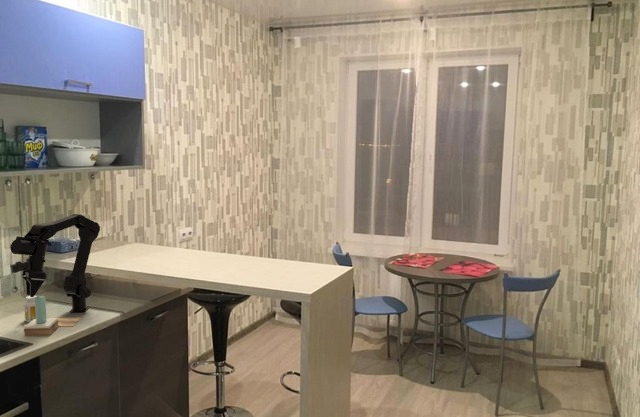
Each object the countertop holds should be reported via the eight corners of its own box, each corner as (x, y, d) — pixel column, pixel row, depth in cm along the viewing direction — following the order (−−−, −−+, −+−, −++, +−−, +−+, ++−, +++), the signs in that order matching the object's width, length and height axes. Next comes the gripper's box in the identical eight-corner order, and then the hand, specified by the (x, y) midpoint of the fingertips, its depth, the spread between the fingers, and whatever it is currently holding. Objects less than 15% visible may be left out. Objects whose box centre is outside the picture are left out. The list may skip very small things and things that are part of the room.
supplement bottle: (42, 317, 224) (41, 294, 222) (36, 321, 218) (34, 298, 217) (29, 317, 223) (28, 294, 222) (22, 321, 218) (21, 298, 217)
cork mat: (55, 319, 222) (55, 318, 222) (81, 318, 223) (81, 317, 223) (46, 327, 212) (46, 326, 212) (73, 326, 213) (73, 325, 213)
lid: (34, 320, 211) (32, 294, 209) (57, 320, 212) (55, 293, 210) (25, 328, 202) (23, 300, 201) (49, 327, 203) (47, 300, 202)
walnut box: (34, 328, 211) (33, 320, 211) (58, 327, 212) (58, 320, 212) (24, 336, 202) (23, 328, 202) (50, 335, 203) (49, 328, 203)
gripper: (10, 253, 214) (3, 292, 212) (17, 254, 199) (9, 296, 197) (41, 256, 221) (34, 294, 219) (49, 257, 206) (42, 298, 204)
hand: (29, 296), depth 210 cm, fingers open, 9 cm apart
